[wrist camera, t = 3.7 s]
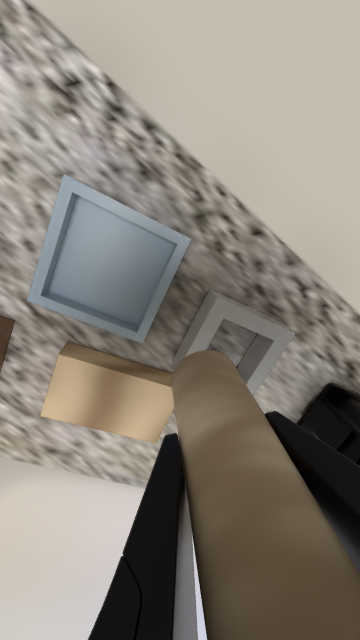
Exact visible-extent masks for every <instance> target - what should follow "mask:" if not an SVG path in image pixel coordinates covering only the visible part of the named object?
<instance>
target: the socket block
mask: <svg viewBox="0 0 360 640" xmlns="http://www.w3.org/2000/svg"><path fill="white" fill-rule="evenodd" d="M223 319H226V320H228V321H231V322H233V323H235V324H237V325H240V326H242V327H244V328H247V329H249V330H251V331H253V332H256V333H258V334H257V336H256V338H255V339H254V341H253V342H252V344H251V346H250V347H249V349H248V351H247V352H246V354H245V355H244V357H243V359H242V360H241V362H240V363H239V365H238V367H237V368H236V369H237V370H238V372H239V374H240V375H241V377H242V379H243V380H244V382H245V384H246V385H247V387H248V389H249V390H250V392H251V394H252V395H253V396H254V394H255V393H256V391H257V390H258V388H259V387H260V385H261V384H262V382H263V381H264V380H265V378H266V377H267V375H268V374H269V372H270V371H271V369H272V368H273V366H274V365H275V363H276V362H277V360H278V359H279V357H280V356H281V354H282V353H283V351H284V350H285V348H286V347H287V345H288V344H289V342H290V341H291V339H292V338H293V336H294V335H295V332H293V331H292V330H291V329H289V328H288V327H287V326H285V325H284V324H283V323H281V322H280V321H278V320H276V319H273V318H271V317H269V316H267V315H265V314H263V313H260V312H258V311H256V310H254V309H252V308H250V307H248V306H245V305H243V304H241V303H239V302H237V301H235V300H232V299H230V298H228V297H226V296H224V295H222V294H220V293H217V292H215V291H213V290H211V289H209V291H208V293H207V295H206V297H205V299H204V301H203V303H202V305H201V307H200V309H199V311H198V312H197V314H196V316H195V318H194V320H193V322H192V324H191V326H190V328H189V330H188V332H187V334H186V335H185V337H184V339H183V341H182V343H181V345H180V347H179V349H178V351H177V353H176V355H175V357H174V358H173V366H174V369H175V367H176V366H177V364H178V363H179V362H180V361H181V360H182V359H183V358H185V357H186V356H188V355H189V354H191V353H194V352H197V351H202V350H206V349H207V347H208V346H209V344H210V342H211V340H212V338H213V337H214V335H215V333H216V331H217V330H218V328H219V326H220V324H221V322H222V321H223Z"/></svg>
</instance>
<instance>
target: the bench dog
mask: <svg viewBox="0 0 360 640" xmlns="http://www.w3.org/2000/svg"><path fill="white" fill-rule="evenodd" d="M13 325H14V320H11V319H8V318H5V317H2V316H0V371H1V368H2V364H3V361H4V357H5V353H6V350H7V346H8V343H9V339H10V336H11V332H12V329H13Z"/></svg>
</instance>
